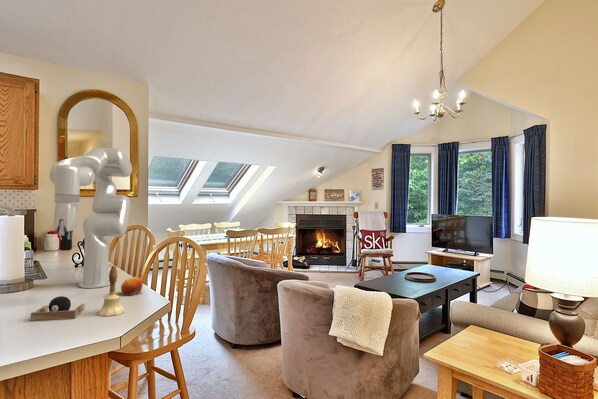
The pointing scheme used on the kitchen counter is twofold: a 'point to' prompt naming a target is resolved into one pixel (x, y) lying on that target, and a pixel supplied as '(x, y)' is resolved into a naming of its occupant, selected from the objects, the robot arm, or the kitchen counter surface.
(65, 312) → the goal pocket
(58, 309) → the billiard ball
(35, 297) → the kitchen counter surface
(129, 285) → the fruit
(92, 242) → the robot arm
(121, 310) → the hand bell
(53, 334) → the kitchen counter surface
